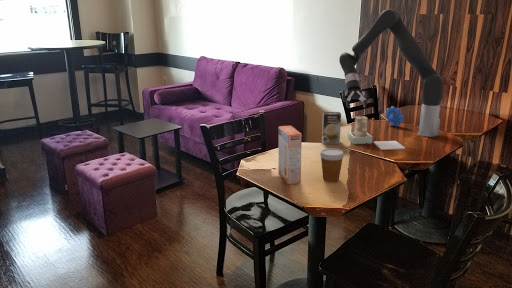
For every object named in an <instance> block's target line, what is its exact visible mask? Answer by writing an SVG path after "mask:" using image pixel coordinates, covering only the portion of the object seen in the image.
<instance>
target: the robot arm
mask: <svg viewBox="0 0 512 288" xmlns="http://www.w3.org/2000/svg"><path fill="white" fill-rule="evenodd" d="M387 29H388V30H389V31H390V32H391V34H393V37H394V38H395V41H396V43H397V46H398V48H399V51H400V52H401V54H402V55H403V57H404V58H405V60H406V61H407V63H408V64H409V65H410V66H412V67H413V68H414V69H415V70H416V72H417V73H418V75H419V76H420V78H421V80H422V83H423V87H422V98H421V106H420V107H421V109H420V116H419V126H418V135H420V136H422V137H429V138H430V137H431V138H433V137H437V136H439V133H440V132H439V131H440V124H441V123H440V122H441V119H440V109H441V101H442V94H443V87H444V82H443V78H442V76H441V75H440V74H439V73H438V72H437V71H436V69H434V67H433V66H432V65H431V63H430V62H429V59H428V57H427V56H426V53H425V51H423V49H422V47H421V45H420V44H419V42H418V41H417V40H416V38H415V37H414V36H413V35H412V33H411V32H410V31H409V29H408V27H406V25H405V23H404V21H403V19H402V17H401V16H400V14H399V12H398V11H397V10H396V9H394V8H386V9H384V10H383V11H382V12H381V13H380V14H379V16H378V17H377V19H376V20H375V21H374V23H373V24H372V26H371V27H370V28H369V30H367V31H366V32H365V33H364V35H363V36H361V37H360V38H359V39H358V41H357V42H356V43H355V44H353V46H352V47H351V50H352V53H353V54H351V53H349V52H342V53H341V54H340V55H339V61H338V62H339V64H340V66H341V69H342V71H343V73H344V79H345V80H344V81H345V86H346V87H345V88H346V91H345V90H342V92H341V100H342V101H341V102H342V103H345V104H346V108H348V109H351V102H350V101H351V100H359V101H361V102H362V106H363V109H366V108H367V106H368V105H367V104H368V102H369V100H370V96H369V92H368V90H367V89H365V90H362V88H361V84H360V79H359V76H358V70H357V68H356V66H357V64H358V63H359V61H360V59H361V58H362V55H364V53H365V52H366V51H367V50H368V49H369V48H370V47H371V46H372V44H373V43H375V41H376V40H377V39H378V37H380V36H381V34H383V33H384V32H385V31H386V30H387ZM346 96H347V98H346Z"/></svg>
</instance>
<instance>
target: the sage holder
mask: <svg viewBox="0 0 512 288" xmlns="http://www.w3.org/2000/svg"><path fill="white" fill-rule="evenodd" d="M347 139H348V140H349V141H350V142H351V143H352V145H360V144H363V145H365V144H366V143H367V144H373V136H372V135H371V134H370V133H369V132H367V133H366V137H354V131H353V132H352V131H350V132H349V131H348V135H347Z"/></svg>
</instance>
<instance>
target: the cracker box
mask: <svg viewBox="0 0 512 288" xmlns="http://www.w3.org/2000/svg"><path fill="white" fill-rule="evenodd" d="M302 136H303V135H302V133H301V132H300V131H299V130H297V129H296V128H295V127H294V126H293V125H281V126H278V170H277V171H278V175H280V177H281V178H282V180H284V181H285V183H286V185H298V184H301V183H302V182H301V181H302V140H303V139H302V138H303V137H302Z"/></svg>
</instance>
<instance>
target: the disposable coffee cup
mask: <svg viewBox="0 0 512 288" xmlns="http://www.w3.org/2000/svg"><path fill="white" fill-rule="evenodd" d="M320 151H321V152H319V157H320V160H321V170H322V171H321V172H322V178H323V179H322V180H323V181H325V182H327V183H338V182H339V180H340V177H341V175H340V174H341V170H342V165H343V159H344V156H345V154H344V152H343V150H341V149H339V148H333V147H332V148H331V147H330V148H323V149H321V150H320Z"/></svg>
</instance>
